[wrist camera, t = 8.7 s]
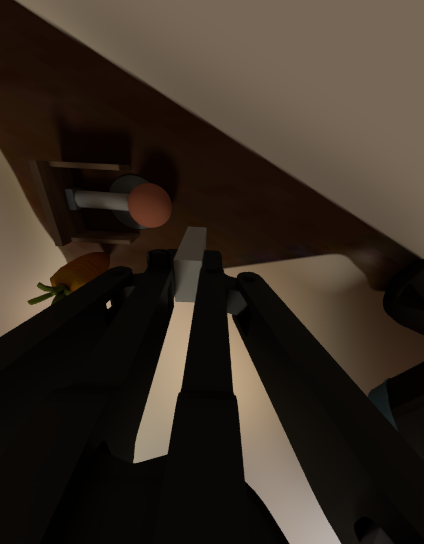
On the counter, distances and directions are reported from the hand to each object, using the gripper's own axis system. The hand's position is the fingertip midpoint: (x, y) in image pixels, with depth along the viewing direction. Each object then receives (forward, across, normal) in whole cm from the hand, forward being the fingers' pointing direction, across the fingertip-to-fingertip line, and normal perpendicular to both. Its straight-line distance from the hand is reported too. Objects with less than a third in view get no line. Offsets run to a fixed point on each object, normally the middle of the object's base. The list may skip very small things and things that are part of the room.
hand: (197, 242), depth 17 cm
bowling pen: (+16, +16, 0) cm, 23 cm away
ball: (+13, +8, 0) cm, 15 cm away
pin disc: (+16, +11, 0) cm, 20 cm away
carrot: (+17, +17, +9) cm, 25 cm away
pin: (+15, +12, 0) cm, 19 cm away
